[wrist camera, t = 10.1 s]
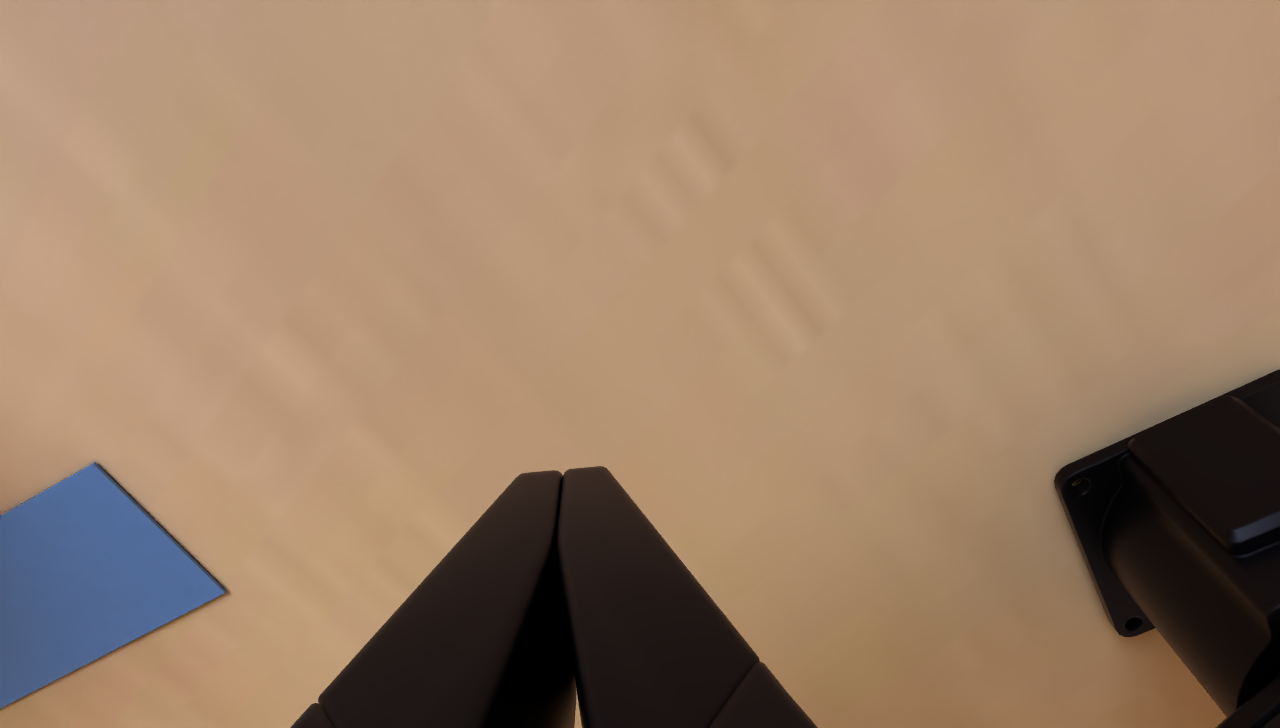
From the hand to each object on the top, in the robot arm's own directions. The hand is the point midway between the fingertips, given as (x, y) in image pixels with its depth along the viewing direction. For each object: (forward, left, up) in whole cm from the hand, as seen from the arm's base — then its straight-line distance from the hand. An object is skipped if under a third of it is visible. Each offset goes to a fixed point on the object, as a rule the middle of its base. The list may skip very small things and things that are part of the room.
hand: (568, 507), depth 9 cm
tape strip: (-3, +21, -12) cm, 24 cm away
